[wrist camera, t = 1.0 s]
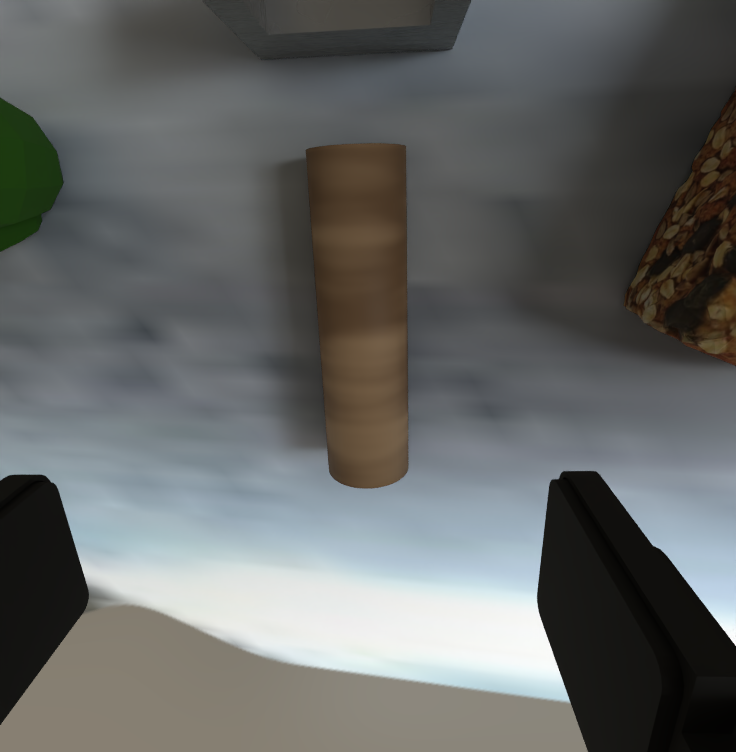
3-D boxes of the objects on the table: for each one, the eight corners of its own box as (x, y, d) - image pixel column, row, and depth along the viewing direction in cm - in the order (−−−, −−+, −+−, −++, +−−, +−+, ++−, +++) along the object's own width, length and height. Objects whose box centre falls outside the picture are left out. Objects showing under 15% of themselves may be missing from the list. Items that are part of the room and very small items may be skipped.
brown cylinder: (314, 154, 24) (296, 146, 19) (405, 150, 23) (407, 141, 19) (334, 446, 29) (323, 488, 25) (407, 446, 29) (409, 488, 25)
